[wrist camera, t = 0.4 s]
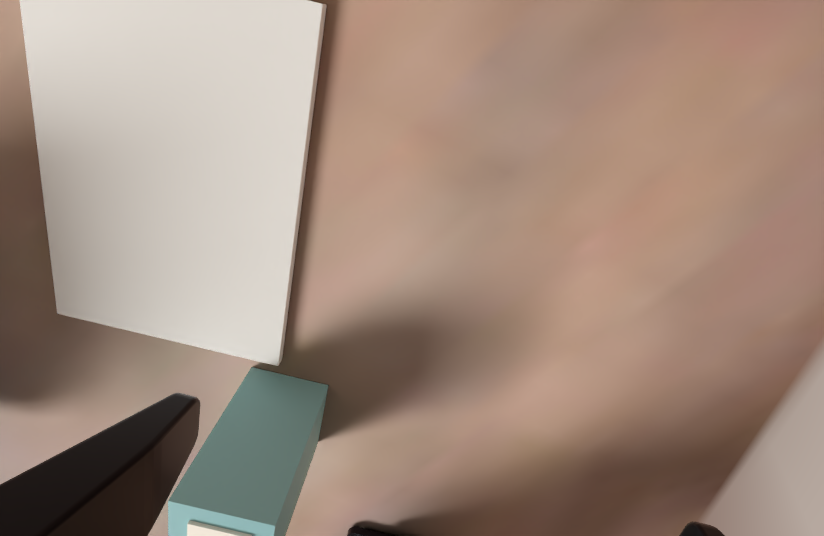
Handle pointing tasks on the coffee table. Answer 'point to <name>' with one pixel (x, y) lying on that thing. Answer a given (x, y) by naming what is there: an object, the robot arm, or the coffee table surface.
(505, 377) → the coffee table surface
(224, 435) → the block
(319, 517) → the coffee table surface
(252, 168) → the mat
